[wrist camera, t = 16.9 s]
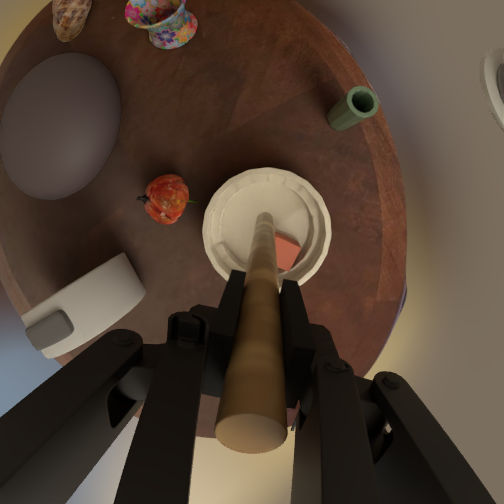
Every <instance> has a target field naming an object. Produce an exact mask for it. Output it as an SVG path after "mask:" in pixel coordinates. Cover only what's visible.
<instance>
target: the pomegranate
mask: <svg viewBox="0 0 504 504" xmlns="http://www.w3.org/2000/svg"><path fill="white" fill-rule="evenodd" d="M136 200H142V201H143V202H144V203H145V210H146V211H147V213H148V214H149V215H150V216H151V217H152V218H153V219H154V220H156V221H157V222H159V223H162V224H172V223H174V222H176V221H177V220H178V219H179V217H180V216H181V215H182V213H183V211H184V208H185V206H186V204H187V202H194V203H199V202H197V201H191V200H189V192H188V187H187V185H186V184H185V183H184V180H183V179H182V178H181V177H180V176H177V175H174V174H166V175H162V176H159V177H157V178H155V179H154V180H153V181H152V182H151V183H150V184H149V185H148V187H147V189H146V192H145V195H144V196H141V197H140V196H138V197H137V198H136ZM136 200H135V201H136Z"/></svg>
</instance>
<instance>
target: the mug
mask: <svg viewBox="0 0 504 504" xmlns="http://www.w3.org/2000/svg"><path fill="white" fill-rule="evenodd" d="M185 2H186V0H129V1H128V3H127V5H126V8H125V17H126V20H127V21H128V23H129V24H131V25H132V26H134V27H137V28H144V29H146V30H148V31H149V39H150V41H151V43H152V44H153V45H154V46H156V47H158V48H160V49H174V48H177V47H180V46H182V45H184V44H185V43H187V42H188V41H189V40H190V39H191V38H192V37H193V36H194V34H195V32H196V30H197V20H196V18H195V16H194V15H193V14H192V13H190V12H188V11H186V10H185Z"/></svg>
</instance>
